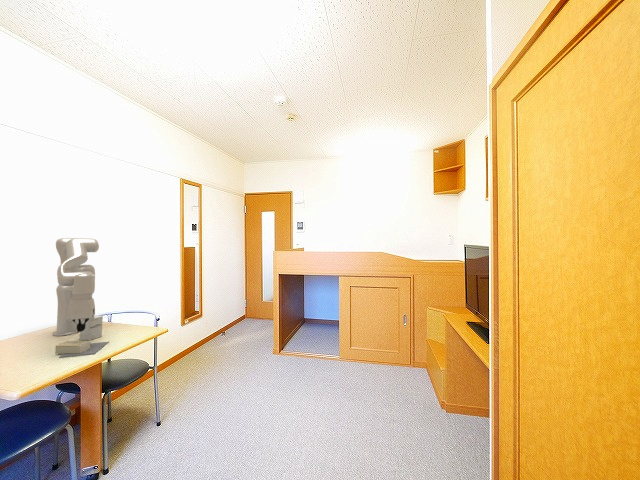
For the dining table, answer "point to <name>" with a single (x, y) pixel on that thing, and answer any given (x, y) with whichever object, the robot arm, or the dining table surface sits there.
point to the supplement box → (92, 329)
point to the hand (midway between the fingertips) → (80, 330)
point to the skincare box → (72, 347)
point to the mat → (93, 349)
